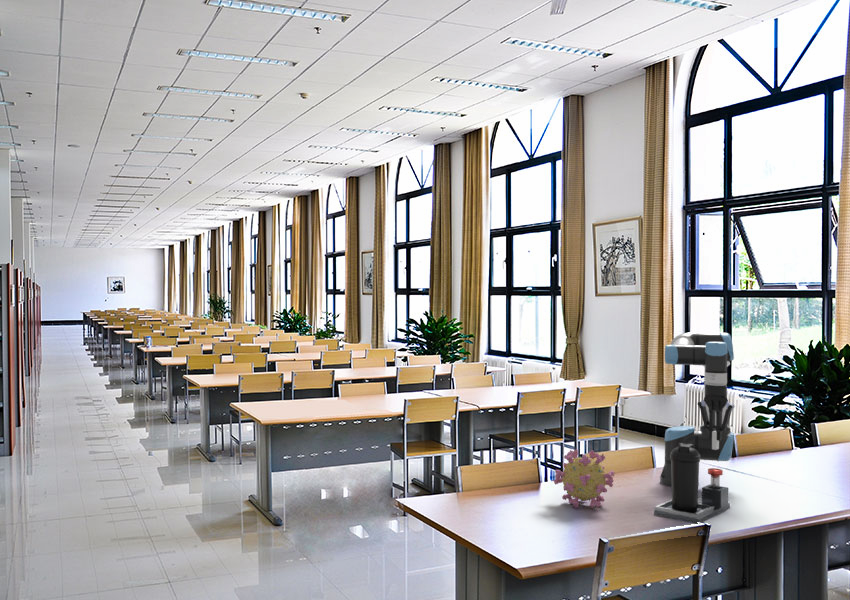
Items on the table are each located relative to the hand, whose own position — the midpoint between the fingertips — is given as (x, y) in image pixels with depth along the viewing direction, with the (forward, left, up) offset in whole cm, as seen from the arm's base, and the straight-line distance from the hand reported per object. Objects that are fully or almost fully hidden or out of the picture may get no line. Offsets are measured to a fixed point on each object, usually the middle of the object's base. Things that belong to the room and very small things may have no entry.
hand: (715, 448), depth 278 cm
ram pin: (0, 0, -16) cm, 16 cm away
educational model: (-37, -30, -22) cm, 52 cm away
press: (-5, -9, -22) cm, 24 cm away
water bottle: (-5, -15, -20) cm, 26 cm away
